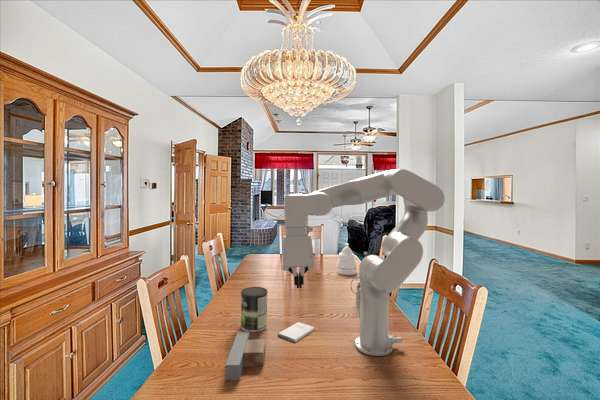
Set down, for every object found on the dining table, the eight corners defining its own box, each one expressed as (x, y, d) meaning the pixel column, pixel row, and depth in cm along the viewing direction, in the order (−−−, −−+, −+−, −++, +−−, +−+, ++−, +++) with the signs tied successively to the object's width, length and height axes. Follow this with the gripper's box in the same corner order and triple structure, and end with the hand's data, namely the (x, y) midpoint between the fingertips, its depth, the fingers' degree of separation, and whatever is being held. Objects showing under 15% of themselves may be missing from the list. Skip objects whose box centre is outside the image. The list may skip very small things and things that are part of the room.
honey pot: (336, 268, 207) (337, 242, 206) (356, 269, 205) (356, 242, 205) (336, 274, 195) (336, 245, 194) (357, 275, 193) (357, 246, 192)
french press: (375, 309, 139) (377, 254, 138) (349, 307, 141) (350, 253, 140) (375, 301, 149) (376, 250, 148) (350, 299, 151) (351, 249, 150)
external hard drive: (277, 337, 114) (297, 325, 124) (295, 344, 109) (314, 331, 119) (277, 333, 114) (297, 321, 124) (295, 339, 109) (314, 326, 119)
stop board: (249, 344, 108) (249, 331, 108) (239, 380, 88) (239, 364, 88) (237, 344, 108) (237, 331, 108) (225, 380, 88) (225, 364, 88)
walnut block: (265, 352, 103) (265, 339, 103) (263, 366, 95) (263, 352, 95) (247, 352, 103) (247, 339, 103) (243, 366, 95) (243, 352, 95)
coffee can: (244, 334, 115) (244, 297, 114) (238, 322, 125) (238, 288, 124) (270, 329, 119) (271, 293, 118) (263, 318, 129) (263, 285, 128)
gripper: (318, 228, 105) (320, 282, 106) (274, 231, 104) (276, 284, 105) (321, 232, 98) (323, 289, 99) (273, 234, 97) (276, 292, 98)
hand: (299, 286), depth 102 cm, fingers closed
